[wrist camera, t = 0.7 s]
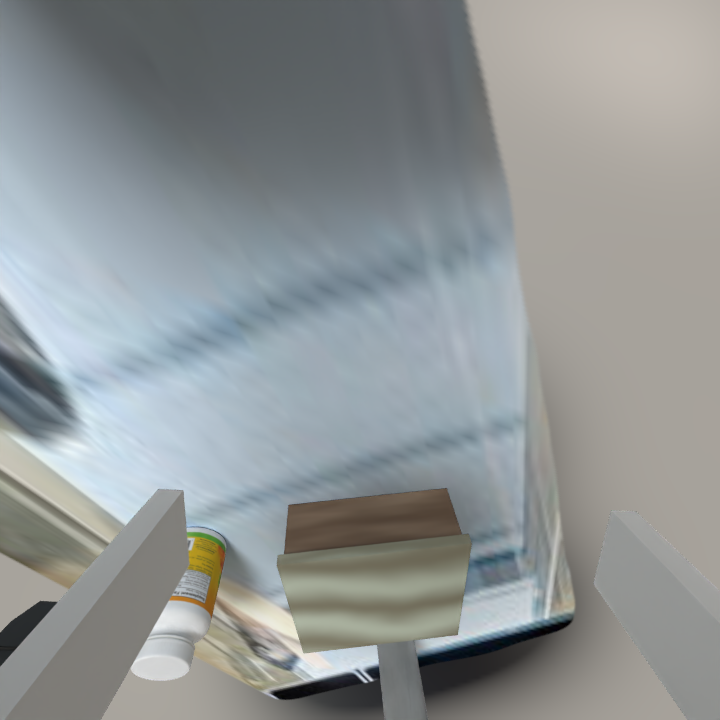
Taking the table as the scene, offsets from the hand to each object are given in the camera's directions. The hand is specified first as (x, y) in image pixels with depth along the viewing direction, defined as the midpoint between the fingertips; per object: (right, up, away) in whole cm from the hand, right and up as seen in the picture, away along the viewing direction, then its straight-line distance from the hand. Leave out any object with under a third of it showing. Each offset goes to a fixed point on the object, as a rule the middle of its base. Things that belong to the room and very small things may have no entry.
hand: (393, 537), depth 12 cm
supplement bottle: (-16, -11, +24) cm, 31 cm away
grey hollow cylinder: (+3, -28, +36) cm, 46 cm away
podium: (0, -12, +26) cm, 29 cm away
